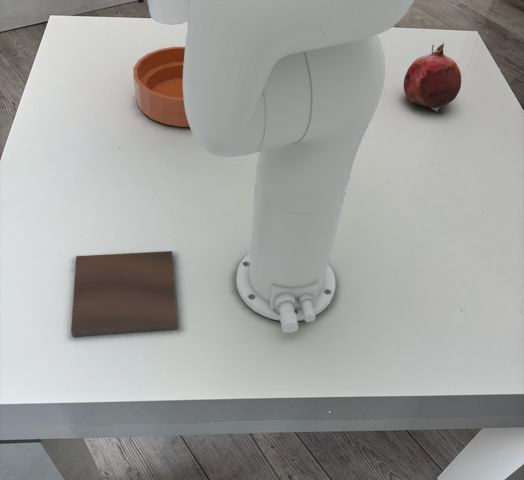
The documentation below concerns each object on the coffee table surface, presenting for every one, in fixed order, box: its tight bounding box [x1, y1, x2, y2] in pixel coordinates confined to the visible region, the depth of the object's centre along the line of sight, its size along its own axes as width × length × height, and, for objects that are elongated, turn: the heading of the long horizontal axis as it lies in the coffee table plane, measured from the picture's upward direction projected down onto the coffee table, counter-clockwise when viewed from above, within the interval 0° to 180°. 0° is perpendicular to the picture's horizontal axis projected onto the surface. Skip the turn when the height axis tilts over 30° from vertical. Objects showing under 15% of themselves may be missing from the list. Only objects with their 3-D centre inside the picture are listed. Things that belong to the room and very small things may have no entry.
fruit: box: [403, 42, 462, 113], centre depth 92 cm, size 9×10×10 cm
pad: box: [70, 250, 178, 338], centre depth 66 cm, size 12×12×1 cm
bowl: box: [132, 46, 190, 128], centre depth 90 cm, size 16×16×5 cm
